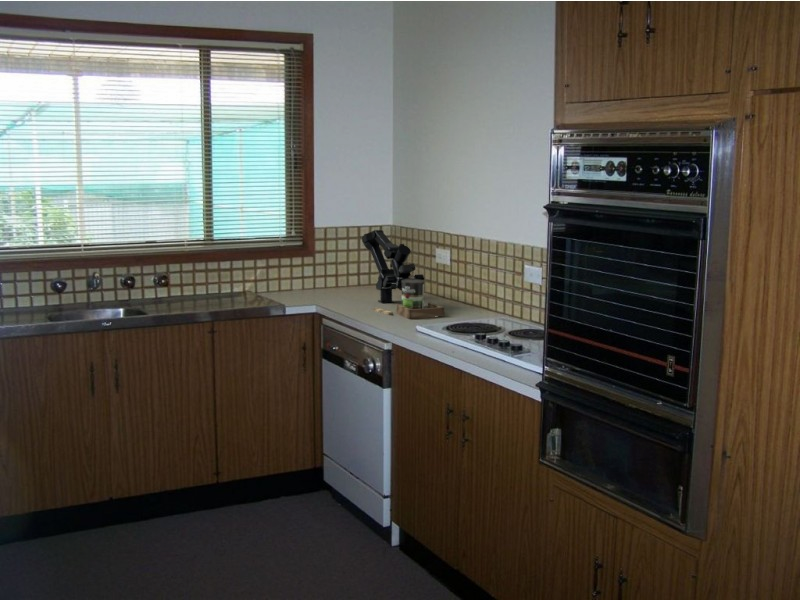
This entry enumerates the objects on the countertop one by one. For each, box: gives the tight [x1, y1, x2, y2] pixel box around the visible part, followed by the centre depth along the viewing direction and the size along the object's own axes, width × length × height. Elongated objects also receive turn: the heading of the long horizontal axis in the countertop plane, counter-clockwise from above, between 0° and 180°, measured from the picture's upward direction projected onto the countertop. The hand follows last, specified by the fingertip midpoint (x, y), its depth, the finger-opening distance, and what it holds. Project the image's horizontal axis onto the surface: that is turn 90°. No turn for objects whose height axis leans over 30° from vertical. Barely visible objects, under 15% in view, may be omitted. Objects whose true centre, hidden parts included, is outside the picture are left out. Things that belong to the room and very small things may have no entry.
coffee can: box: [400, 279, 425, 309], centre depth 412 cm, size 10×10×14 cm
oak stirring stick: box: [372, 307, 394, 316], centre depth 412 cm, size 14×2×2 cm, turn 32°
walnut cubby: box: [396, 301, 445, 320], centre depth 405 cm, size 15×16×4 cm
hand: (408, 295), depth 417 cm, fingers closed, pressing on coffee can
